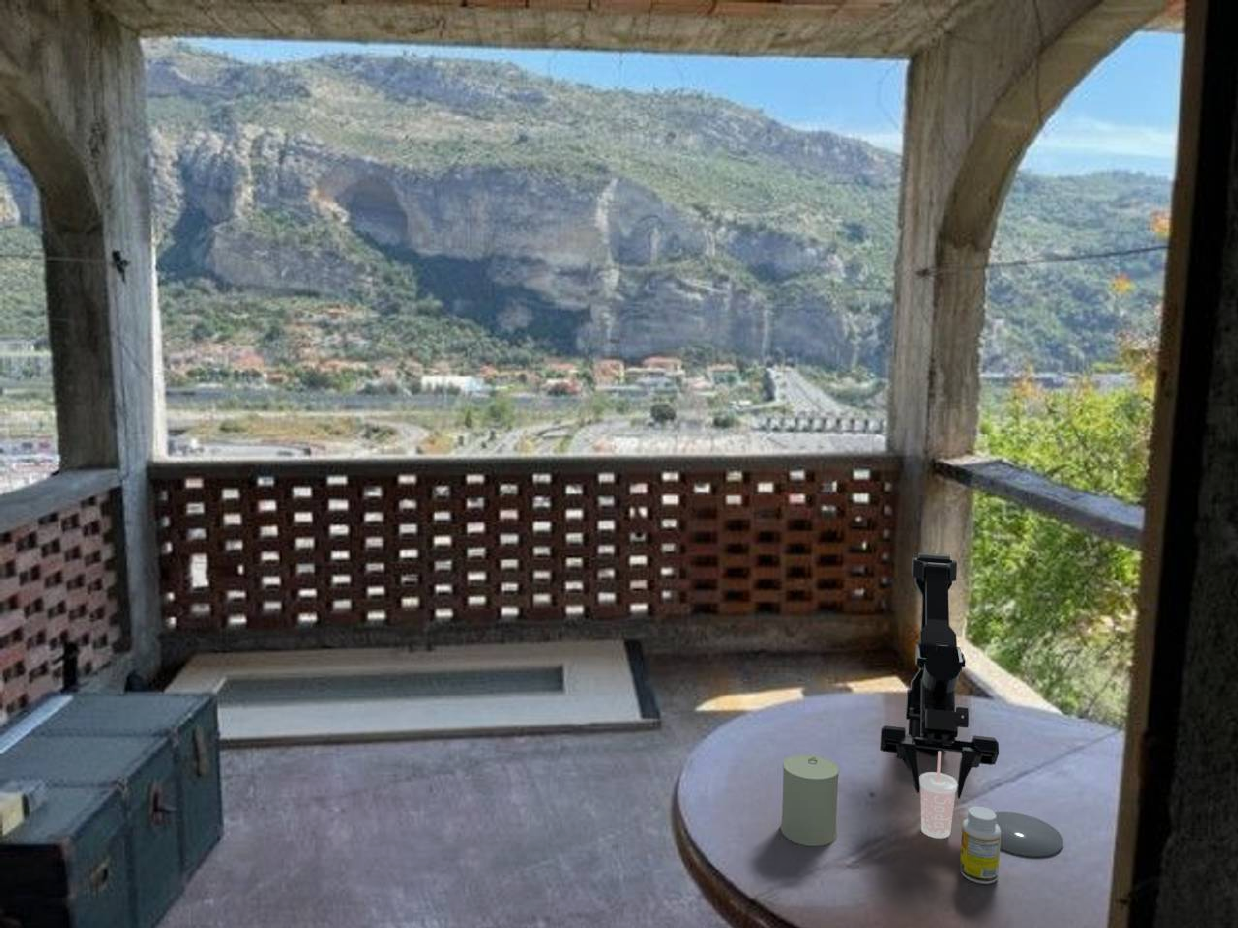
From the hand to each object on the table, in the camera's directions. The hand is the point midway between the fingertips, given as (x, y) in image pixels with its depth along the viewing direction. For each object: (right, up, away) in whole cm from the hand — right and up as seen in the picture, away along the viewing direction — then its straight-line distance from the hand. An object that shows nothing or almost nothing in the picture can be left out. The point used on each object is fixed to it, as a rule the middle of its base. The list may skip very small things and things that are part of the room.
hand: (938, 795), depth 152 cm
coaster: (+14, -7, +1) cm, 16 cm away
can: (-21, -7, +2) cm, 22 cm away
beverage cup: (0, -7, +2) cm, 7 cm away
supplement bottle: (+3, -9, -10) cm, 14 cm away
